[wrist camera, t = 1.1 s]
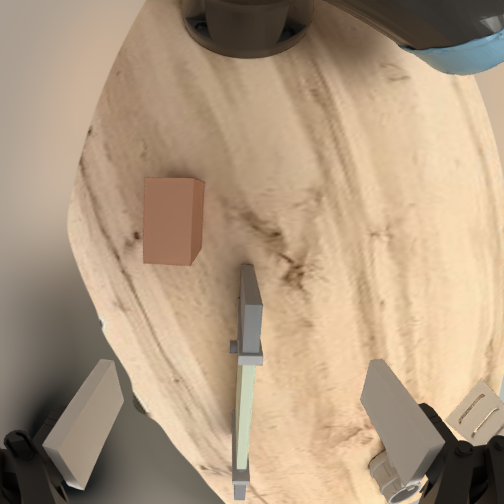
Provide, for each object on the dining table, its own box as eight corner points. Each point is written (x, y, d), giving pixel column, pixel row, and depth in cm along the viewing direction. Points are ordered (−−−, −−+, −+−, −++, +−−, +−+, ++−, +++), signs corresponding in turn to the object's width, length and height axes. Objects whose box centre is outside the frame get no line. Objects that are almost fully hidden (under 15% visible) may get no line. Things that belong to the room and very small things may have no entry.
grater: (462, 430, 42) (508, 486, 22) (444, 420, 40) (497, 485, 20) (494, 393, 40) (547, 442, 21) (480, 378, 39) (543, 434, 19)
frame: (239, 264, 32) (241, 306, 20) (255, 265, 32) (267, 307, 20) (231, 435, 37) (231, 502, 25) (243, 435, 37) (247, 502, 25)
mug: (368, 476, 42) (387, 519, 30) (364, 445, 39) (388, 495, 28) (403, 460, 41) (427, 500, 30) (404, 427, 39) (434, 472, 27)
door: (231, 310, 33) (229, 362, 22) (249, 310, 33) (255, 363, 22) (227, 410, 35) (226, 472, 25) (242, 411, 35) (246, 473, 25)
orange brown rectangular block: (167, 181, 30) (145, 177, 22) (204, 182, 30) (193, 178, 23) (165, 246, 31) (143, 263, 24) (201, 248, 32) (190, 266, 24)
